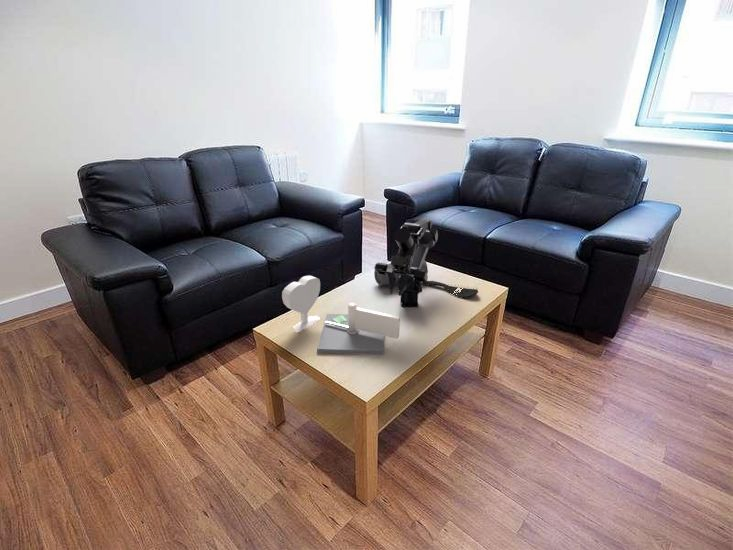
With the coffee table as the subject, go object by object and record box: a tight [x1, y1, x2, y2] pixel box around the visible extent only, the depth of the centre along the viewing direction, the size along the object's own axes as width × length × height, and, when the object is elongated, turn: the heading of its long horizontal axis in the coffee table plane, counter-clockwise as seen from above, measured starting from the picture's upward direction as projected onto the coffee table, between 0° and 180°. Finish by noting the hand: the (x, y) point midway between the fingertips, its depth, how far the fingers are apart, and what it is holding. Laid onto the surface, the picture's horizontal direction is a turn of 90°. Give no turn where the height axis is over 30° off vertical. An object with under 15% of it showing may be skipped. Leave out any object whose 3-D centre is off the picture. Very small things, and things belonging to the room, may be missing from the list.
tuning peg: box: [324, 302, 401, 340], centre depth 134 cm, size 28×3×10 cm, turn 67°
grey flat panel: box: [316, 313, 385, 355], centre depth 138 cm, size 22×22×2 cm
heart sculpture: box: [281, 275, 321, 332], centre depth 140 cm, size 16×5×18 cm, turn 143°
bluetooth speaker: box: [373, 259, 429, 286], centre depth 172 cm, size 23×9×10 cm, turn 113°
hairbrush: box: [422, 280, 479, 299], centre depth 167 cm, size 8×4×25 cm
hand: (394, 294), depth 136 cm, fingers open, 3 cm apart
